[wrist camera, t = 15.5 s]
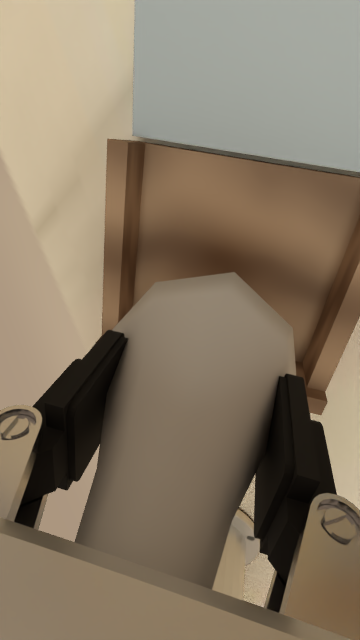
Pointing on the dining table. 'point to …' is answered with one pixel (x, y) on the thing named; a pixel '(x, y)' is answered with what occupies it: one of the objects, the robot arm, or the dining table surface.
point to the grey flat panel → (251, 77)
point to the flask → (185, 423)
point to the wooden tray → (238, 241)
